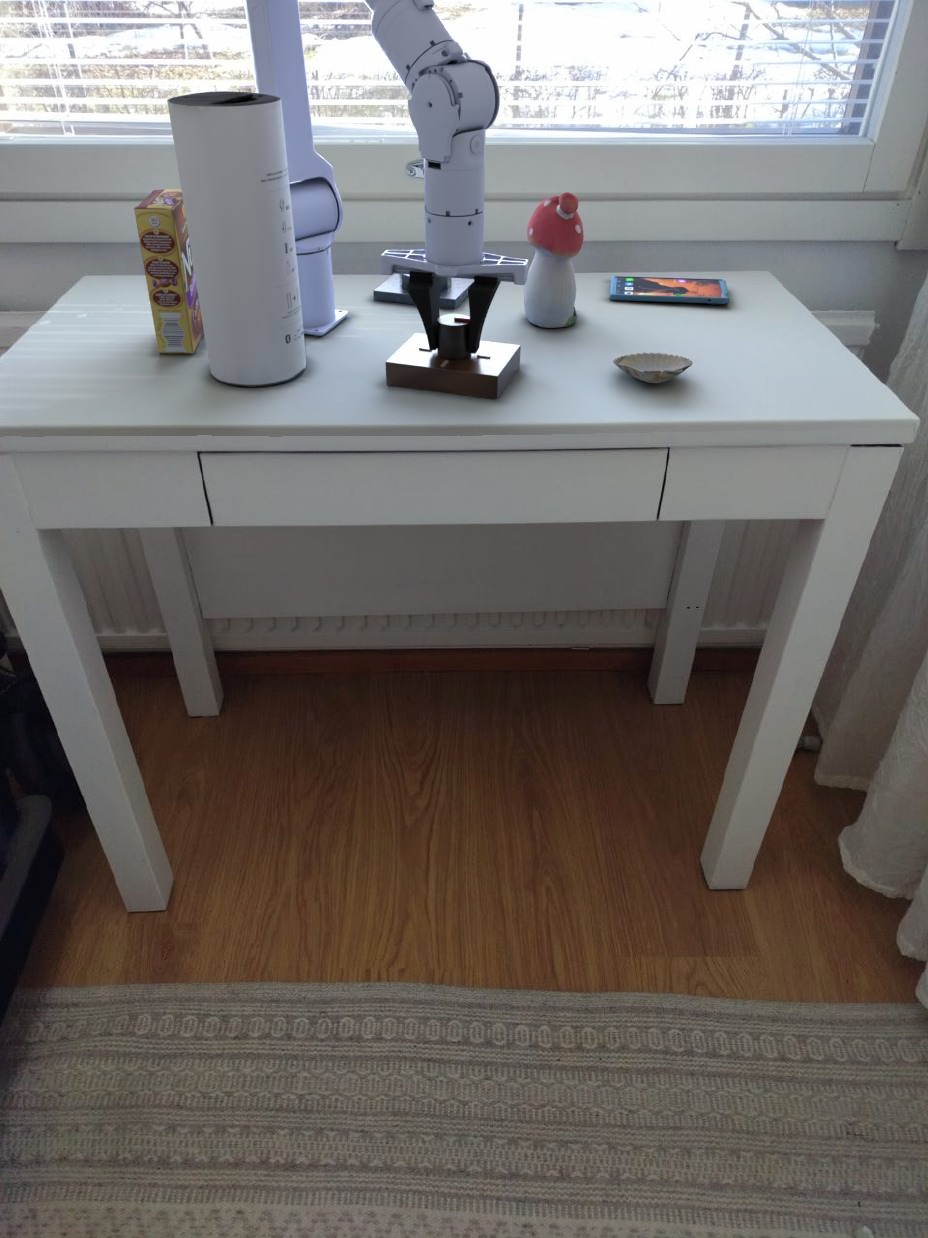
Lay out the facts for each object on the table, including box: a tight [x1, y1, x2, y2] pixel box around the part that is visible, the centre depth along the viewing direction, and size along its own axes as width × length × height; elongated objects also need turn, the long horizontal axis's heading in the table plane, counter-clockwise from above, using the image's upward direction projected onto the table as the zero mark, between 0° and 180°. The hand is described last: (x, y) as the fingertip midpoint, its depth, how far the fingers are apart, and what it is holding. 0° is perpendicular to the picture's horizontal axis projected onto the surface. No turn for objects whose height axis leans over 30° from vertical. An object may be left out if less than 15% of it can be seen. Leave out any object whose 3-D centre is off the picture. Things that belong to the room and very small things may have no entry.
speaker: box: [166, 90, 307, 388], centre depth 91 cm, size 11×10×26 cm
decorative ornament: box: [523, 192, 585, 329], centre depth 107 cm, size 9×6×15 cm
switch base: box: [372, 273, 474, 310], centre depth 119 cm, size 11×9×3 cm
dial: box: [437, 313, 471, 359], centre depth 95 cm, size 4×4×4 cm
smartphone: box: [608, 275, 730, 306], centre depth 120 cm, size 8×1×15 cm
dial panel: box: [384, 332, 521, 401], centre depth 97 cm, size 12×9×3 cm
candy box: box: [133, 188, 204, 355], centre depth 101 cm, size 9×4×15 cm, turn 2°
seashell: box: [612, 352, 693, 384], centre depth 97 cm, size 8×3×8 cm
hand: (454, 348), depth 96 cm, fingers closed on dial, 3 cm apart
